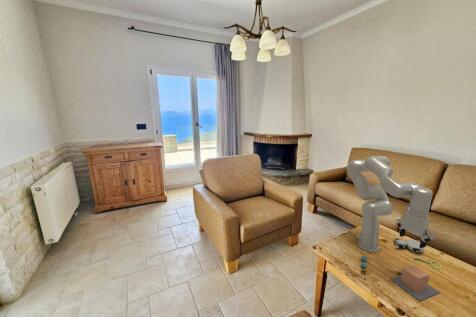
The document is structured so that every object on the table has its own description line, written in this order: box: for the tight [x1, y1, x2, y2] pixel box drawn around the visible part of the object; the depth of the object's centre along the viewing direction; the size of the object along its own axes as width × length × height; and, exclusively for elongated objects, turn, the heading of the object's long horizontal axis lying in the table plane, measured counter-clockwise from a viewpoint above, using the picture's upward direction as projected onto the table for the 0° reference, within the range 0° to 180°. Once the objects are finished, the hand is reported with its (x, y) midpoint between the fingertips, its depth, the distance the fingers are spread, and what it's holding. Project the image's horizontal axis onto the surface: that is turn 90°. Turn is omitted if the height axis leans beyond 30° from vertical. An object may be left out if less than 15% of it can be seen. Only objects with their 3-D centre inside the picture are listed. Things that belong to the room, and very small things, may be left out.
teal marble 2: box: [360, 261, 368, 269], centre depth 117 cm, size 3×3×3 cm
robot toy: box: [392, 237, 425, 254], centre depth 133 cm, size 12×4×15 cm
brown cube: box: [401, 264, 430, 293], centre depth 103 cm, size 7×7×8 cm
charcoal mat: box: [389, 274, 441, 303], centre depth 104 cm, size 14×14×1 cm
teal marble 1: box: [361, 255, 368, 263], centre depth 123 cm, size 3×3×3 cm
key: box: [413, 255, 443, 270], centre depth 119 cm, size 7×12×2 cm, turn 64°
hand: (411, 241), depth 106 cm, fingers open, 9 cm apart
